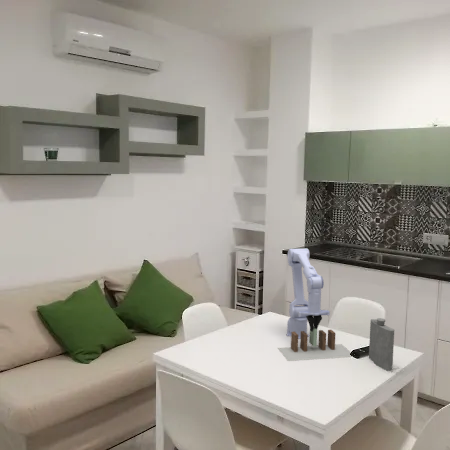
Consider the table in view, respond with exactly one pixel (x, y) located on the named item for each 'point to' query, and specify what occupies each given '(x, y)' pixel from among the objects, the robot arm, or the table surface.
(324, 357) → the grey mat
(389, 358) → the hip flask
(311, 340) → the sage domino
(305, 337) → the domino
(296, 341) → the domino
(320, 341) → the domino
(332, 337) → the domino
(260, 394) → the table surface
